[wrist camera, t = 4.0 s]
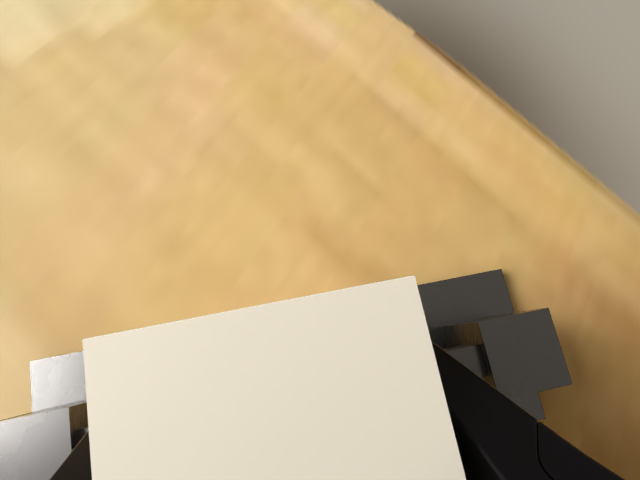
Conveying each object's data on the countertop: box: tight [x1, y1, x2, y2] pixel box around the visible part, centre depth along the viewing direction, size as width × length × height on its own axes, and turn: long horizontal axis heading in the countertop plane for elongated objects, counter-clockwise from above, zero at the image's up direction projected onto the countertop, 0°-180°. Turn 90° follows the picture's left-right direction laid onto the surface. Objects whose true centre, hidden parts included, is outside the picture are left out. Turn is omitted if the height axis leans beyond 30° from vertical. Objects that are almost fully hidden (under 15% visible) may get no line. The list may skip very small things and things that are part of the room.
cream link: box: [82, 275, 466, 480], centre depth 11 cm, size 5×5×10 cm
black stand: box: [0, 269, 572, 480], centre depth 15 cm, size 6×19×4 cm, turn 102°
